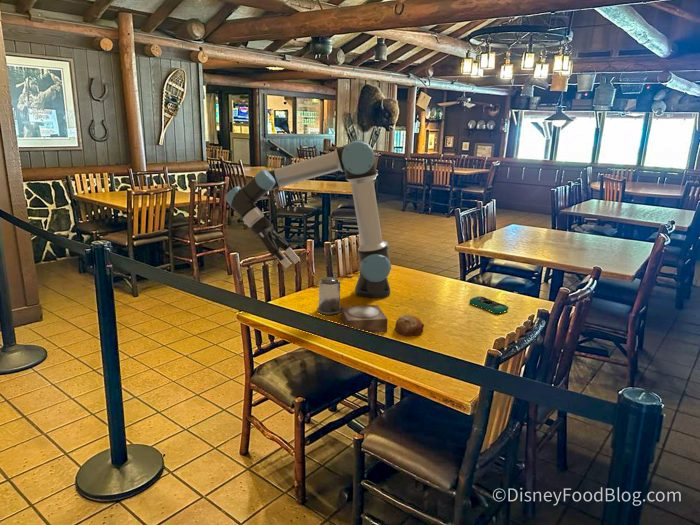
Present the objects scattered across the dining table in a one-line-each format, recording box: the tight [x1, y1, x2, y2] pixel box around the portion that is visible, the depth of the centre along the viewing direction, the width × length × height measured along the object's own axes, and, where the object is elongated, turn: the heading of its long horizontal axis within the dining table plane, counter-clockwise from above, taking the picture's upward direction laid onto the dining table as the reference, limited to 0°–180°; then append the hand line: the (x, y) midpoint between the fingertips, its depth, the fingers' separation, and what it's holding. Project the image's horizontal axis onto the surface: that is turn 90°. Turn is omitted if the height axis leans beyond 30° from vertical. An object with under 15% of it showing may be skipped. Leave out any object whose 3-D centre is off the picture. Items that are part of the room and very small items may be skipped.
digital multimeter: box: [469, 295, 509, 314], centre depth 203 cm, size 7×15×3 cm, turn 34°
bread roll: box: [393, 314, 425, 338], centre depth 176 cm, size 10×10×8 cm
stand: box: [339, 304, 388, 334], centre depth 179 cm, size 14×14×5 cm
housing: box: [316, 276, 341, 317], centre depth 190 cm, size 9×9×13 cm
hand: (293, 263), depth 193 cm, fingers open, 13 cm apart
